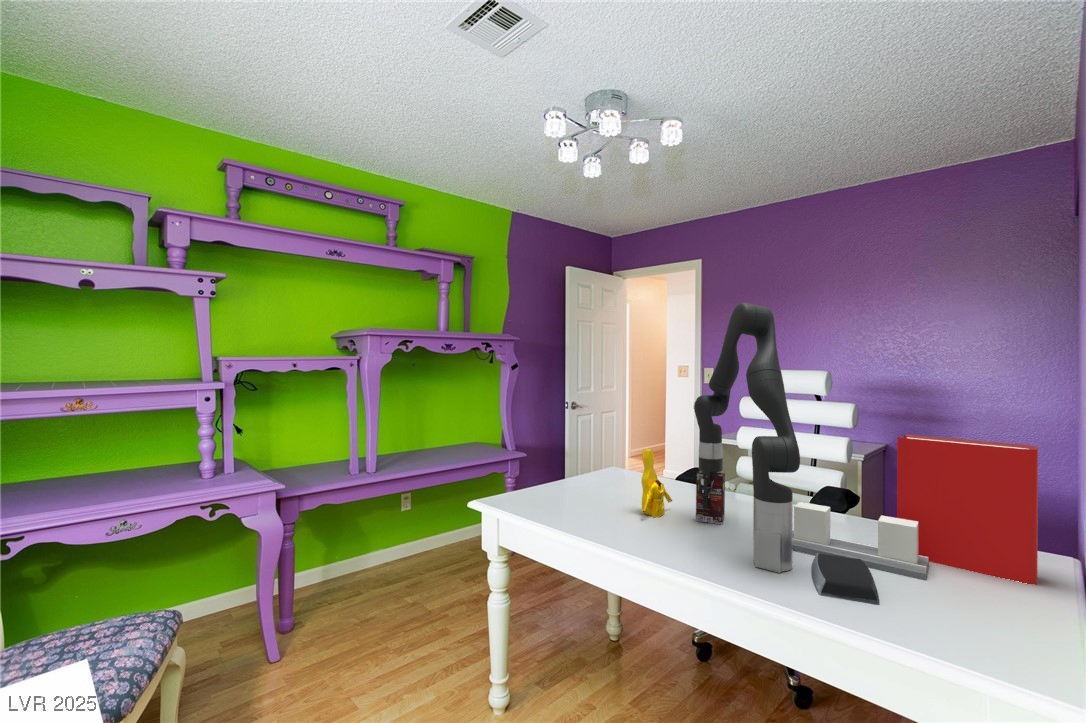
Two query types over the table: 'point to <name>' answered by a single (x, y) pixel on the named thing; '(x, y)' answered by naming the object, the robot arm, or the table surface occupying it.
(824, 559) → the external hard drive
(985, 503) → the book
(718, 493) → the supplement box
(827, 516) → the board
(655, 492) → the figure statuette
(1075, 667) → the table surface
